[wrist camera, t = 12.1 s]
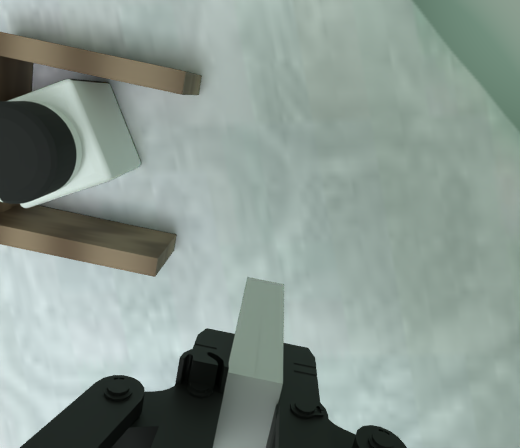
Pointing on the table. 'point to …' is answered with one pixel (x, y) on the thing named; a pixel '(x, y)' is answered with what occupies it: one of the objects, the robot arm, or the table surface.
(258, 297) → the robot arm
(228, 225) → the table surface
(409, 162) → the table surface
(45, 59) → the box
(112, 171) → the medicine bottle
